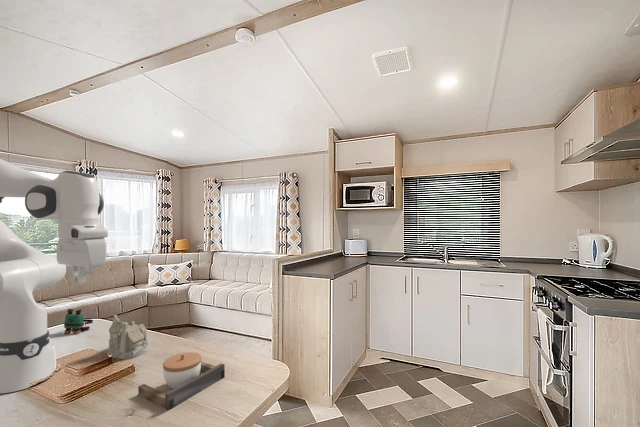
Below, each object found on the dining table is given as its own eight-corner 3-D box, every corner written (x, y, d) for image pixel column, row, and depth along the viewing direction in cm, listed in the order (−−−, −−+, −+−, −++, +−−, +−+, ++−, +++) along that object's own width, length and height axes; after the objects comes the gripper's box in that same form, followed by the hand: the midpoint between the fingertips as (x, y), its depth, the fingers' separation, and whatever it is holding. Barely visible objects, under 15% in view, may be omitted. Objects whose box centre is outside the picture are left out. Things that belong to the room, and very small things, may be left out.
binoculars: (97, 306, 146) (77, 310, 136) (95, 329, 145) (75, 335, 135) (81, 306, 147) (60, 310, 138) (79, 328, 146) (58, 334, 136)
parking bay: (138, 394, 88) (138, 381, 88) (195, 366, 104) (194, 354, 104) (168, 410, 80) (168, 394, 80) (224, 377, 97) (224, 364, 97)
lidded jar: (187, 397, 86) (187, 363, 86) (154, 393, 88) (154, 361, 88) (208, 377, 97) (208, 347, 97) (178, 374, 99) (178, 345, 99)
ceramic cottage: (123, 362, 108) (124, 319, 109) (98, 355, 116) (100, 315, 117) (163, 348, 122) (164, 310, 123) (139, 342, 129) (140, 306, 131)
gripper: (49, 231, 84) (49, 281, 84) (83, 231, 74) (83, 288, 74) (76, 230, 90) (76, 277, 90) (111, 230, 80) (112, 283, 79)
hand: (80, 282), depth 82 cm, fingers closed
